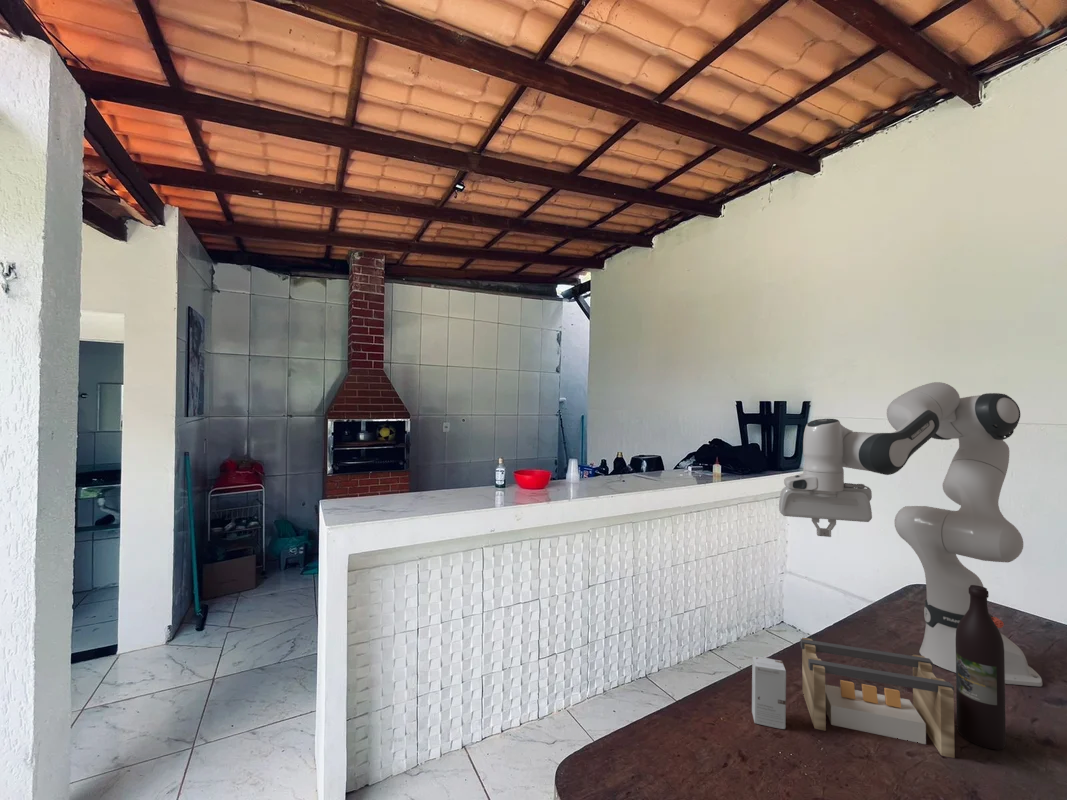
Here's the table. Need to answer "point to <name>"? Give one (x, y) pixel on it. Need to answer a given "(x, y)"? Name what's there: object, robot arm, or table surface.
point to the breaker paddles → (870, 693)
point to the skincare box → (769, 692)
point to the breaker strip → (874, 716)
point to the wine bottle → (980, 675)
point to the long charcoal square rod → (866, 653)
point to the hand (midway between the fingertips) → (823, 536)
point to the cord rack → (927, 703)
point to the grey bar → (880, 676)
